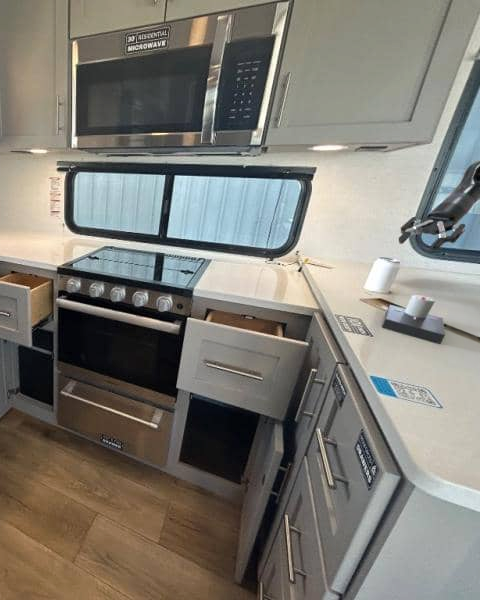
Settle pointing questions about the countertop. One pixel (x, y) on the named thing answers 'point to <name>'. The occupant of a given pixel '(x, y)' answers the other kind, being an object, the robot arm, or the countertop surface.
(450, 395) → the countertop surface
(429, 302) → the knob
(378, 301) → the cork mat
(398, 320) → the block
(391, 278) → the can
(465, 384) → the countertop surface
